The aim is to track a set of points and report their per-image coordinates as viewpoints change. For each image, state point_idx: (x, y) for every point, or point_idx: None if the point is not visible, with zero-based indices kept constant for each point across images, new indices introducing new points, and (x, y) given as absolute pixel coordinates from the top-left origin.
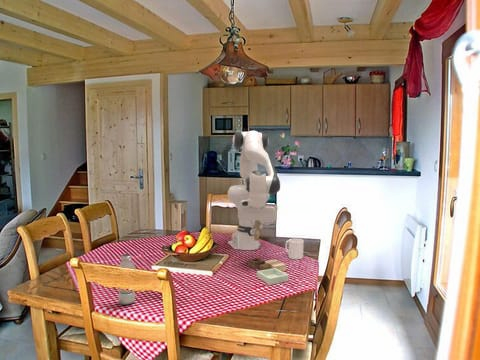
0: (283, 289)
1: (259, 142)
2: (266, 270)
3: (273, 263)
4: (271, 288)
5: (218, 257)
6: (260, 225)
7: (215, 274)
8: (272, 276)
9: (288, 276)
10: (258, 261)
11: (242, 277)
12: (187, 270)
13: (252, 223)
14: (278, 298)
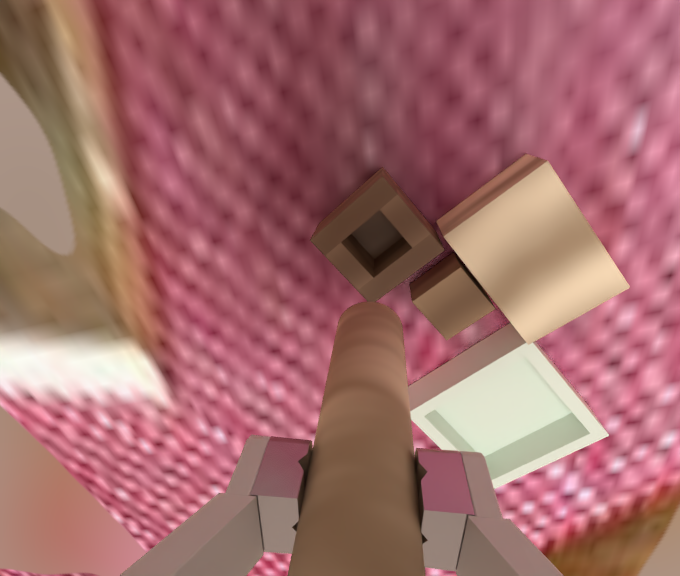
0: (547, 492)
1: None
2: (466, 390)
3: (523, 276)
4: None
5: (27, 60)
6: (453, 549)
7: (180, 386)
8: (498, 380)
9: (604, 428)
10: (399, 275)
11: None
12: (22, 362)
13: (231, 556)
14: None
